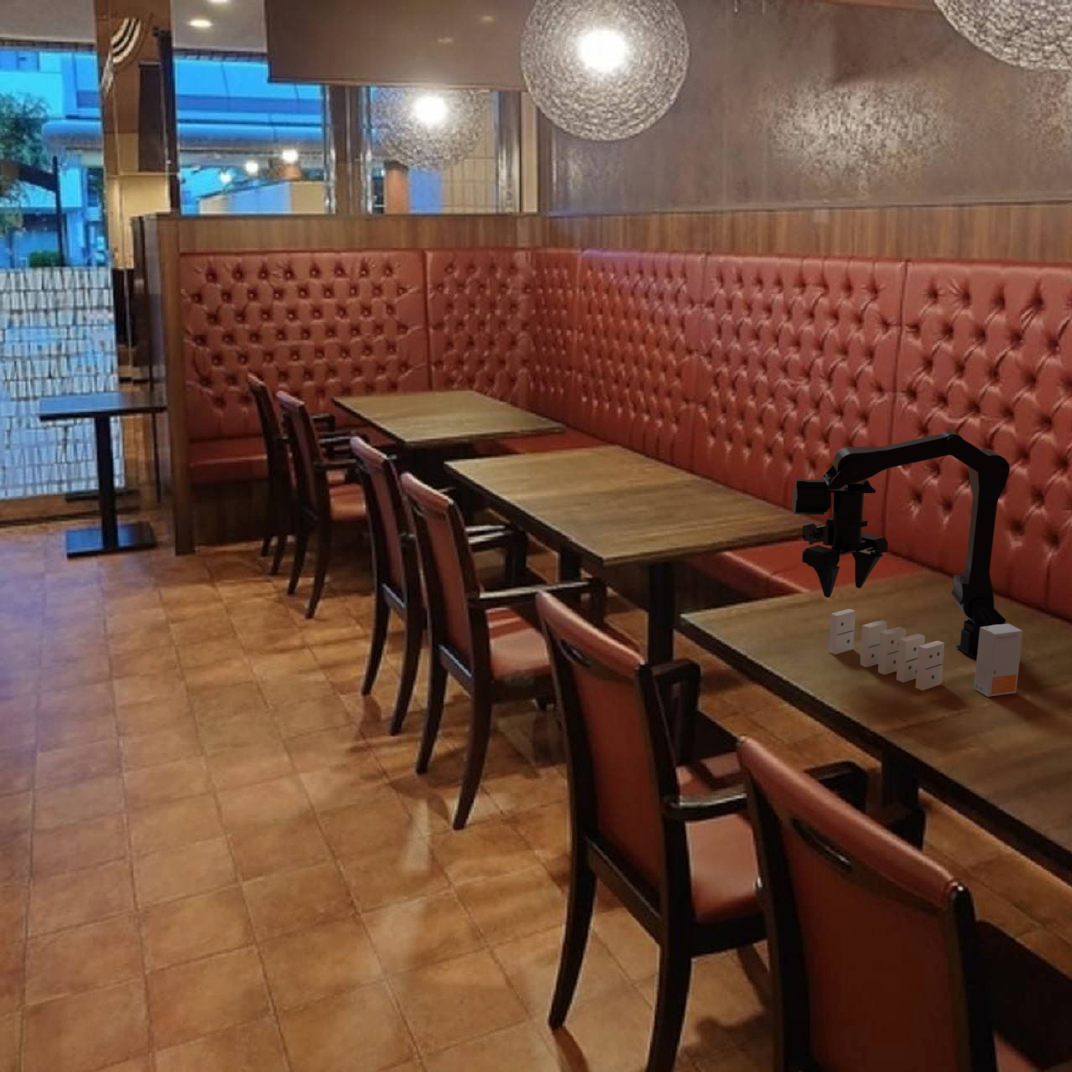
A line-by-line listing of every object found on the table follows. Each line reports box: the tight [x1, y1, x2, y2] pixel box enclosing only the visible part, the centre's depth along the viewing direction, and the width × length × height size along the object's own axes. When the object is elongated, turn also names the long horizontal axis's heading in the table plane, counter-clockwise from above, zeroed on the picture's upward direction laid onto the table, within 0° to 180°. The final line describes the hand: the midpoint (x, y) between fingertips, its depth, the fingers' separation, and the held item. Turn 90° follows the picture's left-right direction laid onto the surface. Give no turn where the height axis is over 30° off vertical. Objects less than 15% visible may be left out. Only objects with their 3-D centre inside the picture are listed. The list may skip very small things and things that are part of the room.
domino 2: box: [859, 619, 888, 668], centre depth 215 cm, size 2×5×8 cm, turn 122°
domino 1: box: [828, 608, 856, 655], centre depth 222 cm, size 2×5×8 cm, turn 122°
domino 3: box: [877, 626, 907, 676], centre depth 212 cm, size 2×5×8 cm, turn 122°
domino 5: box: [915, 640, 945, 691], centre depth 204 cm, size 2×5×8 cm, turn 122°
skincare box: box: [973, 623, 1024, 698], centre depth 201 cm, size 6×4×12 cm
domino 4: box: [895, 633, 926, 683], centre depth 208 cm, size 2×5×8 cm, turn 122°
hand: (843, 592), depth 220 cm, fingers open, 9 cm apart
